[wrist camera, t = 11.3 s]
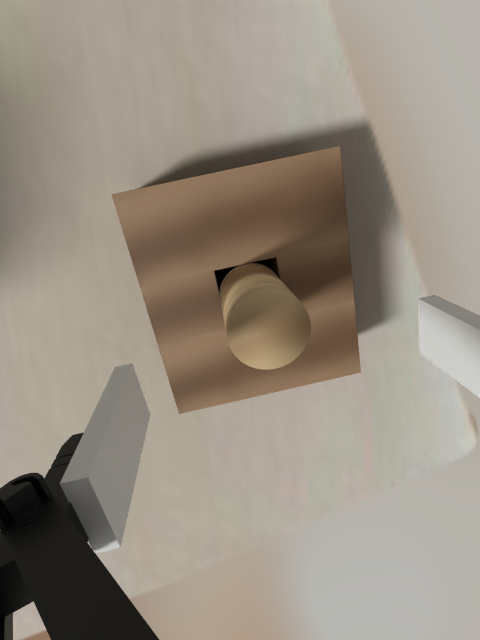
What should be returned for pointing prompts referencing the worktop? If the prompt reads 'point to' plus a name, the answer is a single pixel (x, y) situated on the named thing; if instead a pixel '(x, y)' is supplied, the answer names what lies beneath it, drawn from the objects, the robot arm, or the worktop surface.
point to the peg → (262, 317)
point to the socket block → (236, 249)
